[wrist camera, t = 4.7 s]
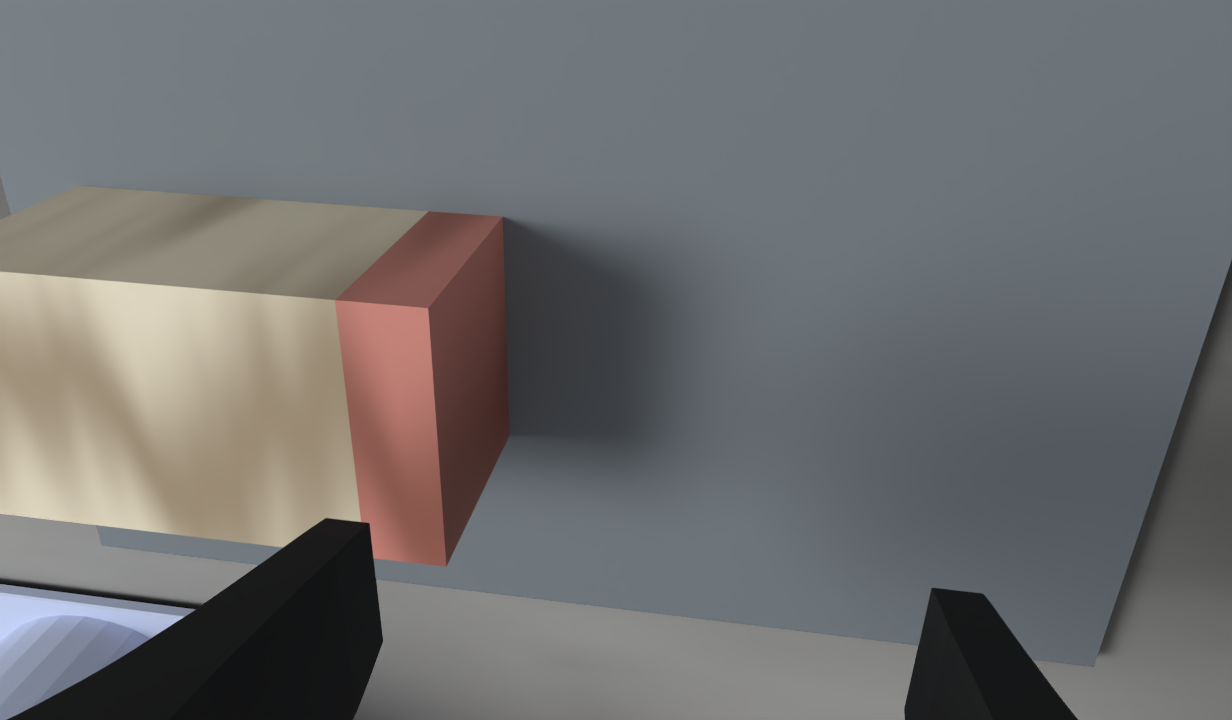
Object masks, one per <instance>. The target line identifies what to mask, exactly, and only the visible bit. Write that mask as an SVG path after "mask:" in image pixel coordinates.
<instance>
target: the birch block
mask: <svg viewBox="0 0 1232 720" xmlns="http://www.w3.org/2000/svg"><path fill="white" fill-rule="evenodd" d="M508 438H509V407H508V374H507V341H506V308H505V275H504V242H503V217H501V216H487V215H473V214H460V213H446V212H432V211H418V210H405V209H391V208H377V207H363V206H350V205H336V204H322V203H308V202H295V201H281V200H267V199H253V198H240V197H226V196H212V195H198V194H185V193H171V192H157V191H143V190H130V189H116V188H102V187H88V186H76V187H74V188H72V189H69V190H67V191H65V192H63V193H60V194H58V195H56V196H53V197H51V198H49V199H46V200H44V201H42V202H40V203H37V204H35V205H33V206H30V207H28V208H26V209H24V210H21V211H19V212H17V213H14V214H12V215H10V216H7V217H5V218H3V219H1V220H0V514H8V515H16V516H24V517H33V518H41V519H49V520H58V521H66V522H75V523H83V524H91V525H100V526H108V527H116V528H125V529H133V530H141V531H150V532H158V533H167V534H175V535H183V536H192V537H200V538H208V539H217V540H225V541H233V542H242V543H250V544H259V545H267V546H275V547H285V546H286V545H287V544H289V543H290V542H292V541H293V540H294V539H296V538H297V537H299V536H300V535H301V534H303V533H304V532H306V531H307V530H309V529H310V528H311V527H313V526H314V525H316V524H317V523H319V522H320V521H322V520H323V519H325V518H331V519H339V520H348V521H357V522H365V523H370V532H371V541H372V549H373V558H376V559H384V560H392V561H401V562H409V563H418V564H426V565H434V566H443V567H447V565H448V563H449V561H450V559H451V556H452V554H453V552H454V550H455V548H456V546H457V544H458V542H459V540H460V538H461V536H462V534H463V531H464V529H465V527H466V525H467V523H468V521H469V519H470V517H471V515H472V513H473V511H474V509H475V506H476V504H477V502H478V500H479V498H480V496H481V494H482V492H483V490H484V488H485V486H486V484H487V481H488V479H489V477H490V475H491V473H492V471H493V469H494V467H495V465H496V463H497V461H498V459H499V457H500V454H501V452H502V450H503V448H504V446H505V444H506V442H507V440H508Z"/></svg>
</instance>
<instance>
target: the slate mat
mask: <svg viewBox="0 0 1232 720" xmlns="http://www.w3.org/2000/svg"><path fill="white" fill-rule="evenodd" d="M0 176H1V180H2V184H3V187H4V191H5V195H6V198H7V202H8V206H9V209H10V213H11V215H12V214H14V213H17V212H19V211H21V210H24V209H26V208H28V207H30V206H33V205H35V204H37V203H40V202H42V201H44V200H46V199H49V198H51V197H53V196H56V195H58V194H60V193H63V192H65V191H67V190H69V189H72V188H74V187H76V186H88V187H102V188H116V189H130V190H143V191H157V192H171V193H185V194H198V195H212V196H226V197H240V198H253V199H267V200H281V201H295V202H308V203H322V204H336V205H350V206H363V207H377V208H391V209H405V210H418V211H432V212H446V213H460V214H473V215H487V216H501V217H503V242H504V275H505V308H506V341H507V374H508V407H509V438H508V440H507V442H506V444H505V446H504V448H503V450H502V452H501V454H500V457H499V459H498V461H497V463H496V465H495V467H494V469H493V471H492V473H491V475H490V477H489V479H488V481H487V484H486V486H485V488H484V490H483V492H482V494H481V496H480V498H479V500H478V502H477V504H476V506H475V509H474V511H473V513H472V515H471V517H470V519H469V521H468V523H467V525H466V527H465V529H464V531H463V534H462V536H461V538H460V540H459V542H458V544H457V546H456V548H455V550H454V552H453V554H452V556H451V559H450V561H449V563H448V565H447V567H443V566H434V565H426V564H418V563H409V562H401V561H392V560H384V559H376V558H374V567H375V576H376V579H379V580H387V581H395V582H404V583H412V584H420V585H428V586H436V587H444V588H453V589H461V590H469V591H477V592H485V593H493V594H502V595H510V596H518V597H526V598H534V599H543V600H551V601H559V602H567V603H575V604H583V605H592V606H600V607H608V608H616V609H624V610H633V611H641V612H649V613H657V614H665V615H673V616H682V617H690V618H698V619H706V620H714V621H723V622H731V623H739V624H747V625H755V626H763V627H772V628H780V629H788V630H796V631H804V632H812V633H821V634H829V635H837V636H845V637H853V638H862V639H870V640H878V641H886V642H894V643H902V644H911V645H919V642H920V637H921V633H922V628H923V624H924V619H925V615H926V610H927V606H928V601H929V597H930V593H931V588H940V589H949V590H957V591H966V592H975V593H983V594H984V595H985V596H986V597H987V599H988V600H989V601H990V602H991V604H992V605H993V607H994V608H995V609H996V611H997V612H998V613H999V615H1000V616H1001V618H1002V619H1003V620H1004V622H1005V623H1006V625H1007V626H1008V627H1009V629H1010V630H1011V632H1012V633H1013V634H1014V636H1015V637H1016V639H1017V640H1018V641H1019V643H1020V644H1021V645H1022V647H1023V648H1024V650H1025V651H1026V652H1027V654H1028V655H1029V656H1030V658H1031V659H1033V660H1041V661H1050V662H1058V663H1066V664H1074V665H1082V666H1091V667H1094V664H1095V661H1096V658H1097V656H1098V653H1099V650H1100V647H1101V644H1102V641H1103V638H1104V635H1105V632H1106V629H1107V626H1108V623H1109V620H1110V617H1111V614H1112V611H1113V608H1114V605H1115V602H1116V600H1117V597H1118V594H1119V591H1120V588H1121V585H1122V582H1123V579H1124V576H1125V573H1126V570H1127V567H1128V564H1129V561H1130V558H1131V555H1132V552H1133V549H1134V546H1135V544H1136V541H1137V538H1138V535H1139V532H1140V529H1141V526H1142V523H1143V520H1144V517H1145V514H1146V511H1147V508H1148V505H1149V502H1150V499H1151V496H1152V493H1153V490H1154V488H1155V485H1156V482H1157V479H1158V476H1159V473H1160V470H1161V467H1162V464H1163V461H1164V458H1165V455H1166V452H1167V449H1168V446H1169V443H1170V440H1171V437H1172V434H1173V431H1174V429H1175V426H1176V423H1177V420H1178V417H1179V414H1180V411H1181V408H1182V405H1183V402H1184V399H1185V396H1186V393H1187V390H1188V387H1189V384H1190V381H1191V378H1192V375H1193V373H1194V370H1195V367H1196V364H1197V361H1198V358H1199V355H1200V352H1201V349H1202V346H1203V343H1204V340H1205V337H1206V334H1207V331H1208V328H1209V325H1210V322H1211V319H1212V317H1213V314H1214V311H1215V308H1216V305H1217V302H1218V299H1219V296H1220V293H1221V290H1222V287H1223V284H1224V281H1225V278H1226V275H1227V272H1228V269H1229V266H1230V263H1231V261H1232V0H0ZM96 526H97V530H98V533H99V537H100V541H101V544H102V546H109V547H117V548H125V549H134V550H142V551H150V552H158V553H166V554H175V555H183V556H191V557H199V558H207V559H215V560H224V561H232V562H240V563H248V564H256V565H260V564H261V563H263V562H264V561H265V560H267V559H268V558H269V557H271V556H272V555H274V554H275V553H276V552H278V551H279V550H281V549H282V548H283V547H275V546H267V545H259V544H250V543H242V542H233V541H225V540H217V539H208V538H200V537H192V536H183V535H175V534H167V533H158V532H150V531H141V530H133V529H125V528H116V527H108V526H100V525H96Z"/></svg>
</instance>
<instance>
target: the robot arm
mask: <svg viewBox="0 0 1232 720" xmlns="http://www.w3.org/2000/svg"><path fill="white" fill-rule="evenodd" d="M382 642H383V637H382V628H381V620H380V611H379V602H378V593H377V584H376V576H375V567H374V558H373V549H372V541H371V532H370V523H365V522H357V521H348V520H339V519H331V518H325V519H323V520H322V521H320V522H319V523H317V524H316V525H314V526H313V527H311V528H310V529H309V530H307V531H306V532H304V533H303V534H301V535H300V536H299V537H297V538H296V539H294V540H293V541H292V542H290V543H289V544H287V545H286V546H285V547H283V548H282V549H281V550H279V551H278V552H276V553H275V554H274V555H272V556H271V557H269V558H268V559H267V560H265V561H264V562H263V563H261V564H260V565H258V566H257V567H256V568H254V569H253V570H251V571H250V572H249V573H247V574H246V575H244V576H243V577H241V578H240V579H239V580H237V581H236V582H234V583H233V584H231V585H230V586H229V587H227V588H226V589H224V590H223V591H221V592H220V593H219V594H217V595H216V596H214V597H213V598H212V599H210V600H209V601H207V602H206V603H204V604H203V605H202V606H200V607H199V608H197V609H188V608H181V607H173V606H165V605H158V604H150V603H142V602H134V601H127V600H119V599H111V598H103V597H96V596H88V595H80V594H73V593H65V592H57V591H49V590H42V589H34V588H26V587H18V586H11V585H3V584H0V720H353V718H354V716H355V714H356V712H357V709H358V707H359V704H360V702H361V699H362V696H363V694H364V691H365V689H366V686H367V684H368V681H369V678H370V676H371V673H372V670H373V667H374V665H375V662H376V659H377V656H378V654H379V651H380V648H381V645H382ZM904 711H905V720H1078V719H1077V718H1076V717H1075V715H1074V714H1073V713H1072V712H1071V710H1070V709H1069V708H1068V707H1067V705H1066V704H1065V703H1064V702H1063V700H1062V699H1061V698H1060V696H1059V695H1058V694H1057V693H1056V691H1055V690H1054V689H1053V687H1052V686H1051V685H1050V683H1049V682H1048V681H1047V679H1046V678H1045V677H1044V675H1043V674H1042V673H1041V671H1040V670H1039V669H1038V667H1037V666H1036V665H1035V663H1034V662H1033V661H1032V659H1031V658H1030V656H1029V655H1028V654H1027V652H1026V651H1025V650H1024V648H1023V647H1022V645H1021V644H1020V643H1019V641H1018V640H1017V639H1016V637H1015V636H1014V634H1013V633H1012V632H1011V630H1010V629H1009V627H1008V626H1007V625H1006V623H1005V622H1004V620H1003V619H1002V618H1001V616H1000V615H999V613H998V612H997V611H996V609H995V608H994V607H993V605H992V604H991V602H990V601H989V600H988V599H987V597H986V596H985V595H984V594H983V593H975V592H966V591H957V590H949V589H940V588H931V593H930V597H929V601H928V606H927V610H926V615H925V619H924V624H923V628H922V633H921V637H920V642H919V646H918V651H917V655H916V659H915V664H914V668H913V673H912V677H911V682H910V686H909V691H908V695H907V700H906V704H905V709H904Z"/></svg>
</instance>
